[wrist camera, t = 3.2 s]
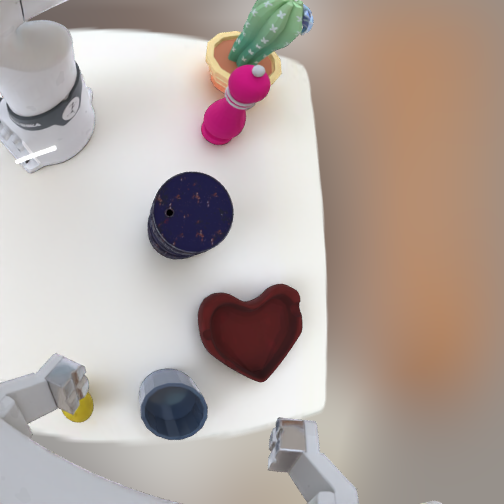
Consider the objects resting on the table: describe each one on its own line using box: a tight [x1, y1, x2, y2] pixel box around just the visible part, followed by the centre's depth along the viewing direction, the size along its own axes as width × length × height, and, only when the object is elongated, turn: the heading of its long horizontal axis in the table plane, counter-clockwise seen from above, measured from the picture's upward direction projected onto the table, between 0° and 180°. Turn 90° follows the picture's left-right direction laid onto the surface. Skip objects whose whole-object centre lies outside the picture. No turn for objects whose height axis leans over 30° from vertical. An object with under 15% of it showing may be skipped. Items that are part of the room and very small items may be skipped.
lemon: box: [62, 392, 94, 422], centre depth 34 cm, size 6×6×8 cm
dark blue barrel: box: [148, 172, 234, 259], centre depth 40 cm, size 10×10×15 cm
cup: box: [139, 369, 208, 440], centre depth 41 cm, size 10×10×7 cm
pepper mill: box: [201, 65, 270, 145], centre depth 42 cm, size 7×7×20 cm
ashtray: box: [198, 284, 302, 382], centre depth 48 cm, size 18×16×5 cm
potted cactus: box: [206, 0, 313, 94], centre depth 41 cm, size 15×16×25 cm
